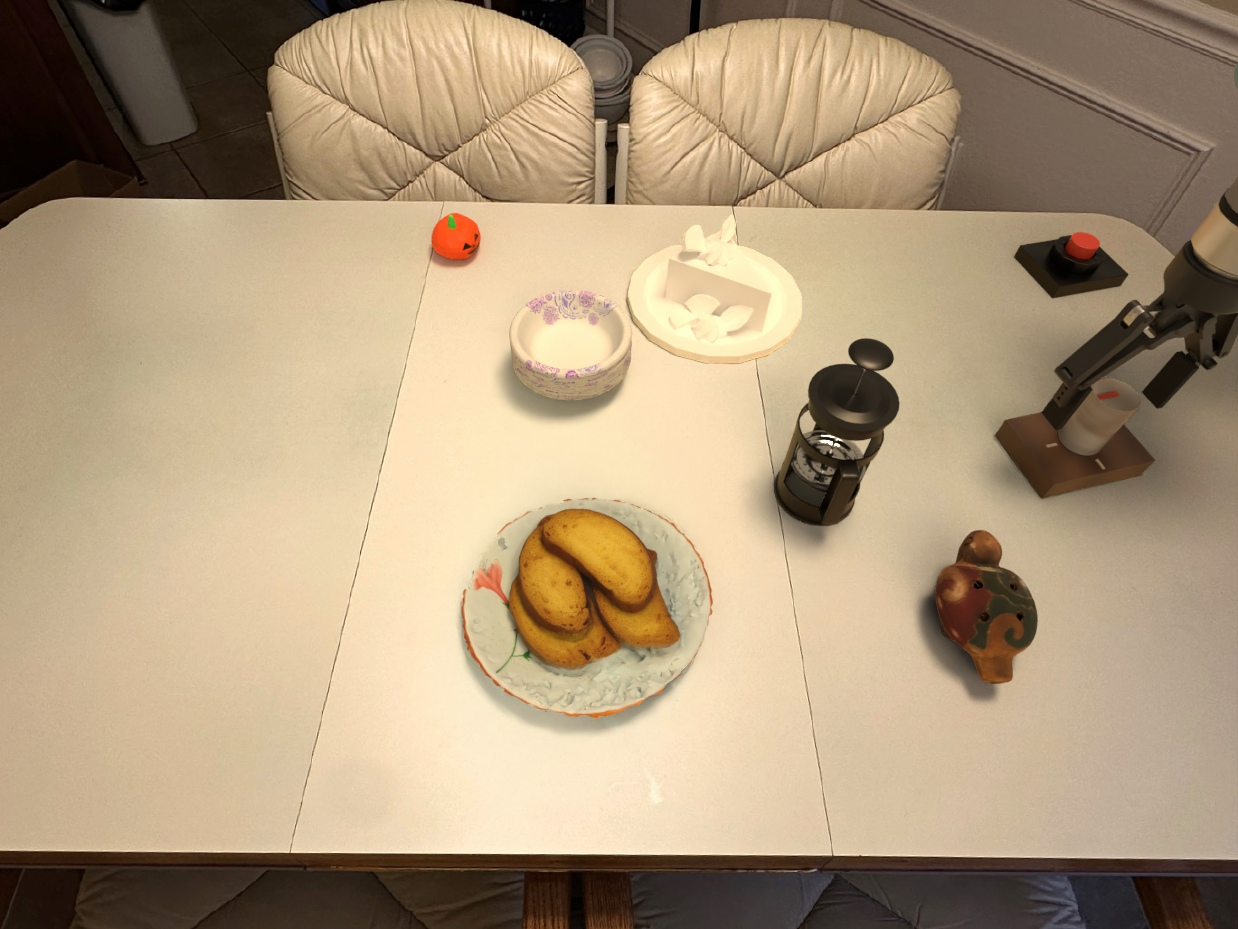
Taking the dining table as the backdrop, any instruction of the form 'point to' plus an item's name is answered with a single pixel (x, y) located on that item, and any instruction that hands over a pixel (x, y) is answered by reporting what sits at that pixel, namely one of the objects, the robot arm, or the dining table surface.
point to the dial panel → (1069, 457)
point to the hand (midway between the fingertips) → (1102, 410)
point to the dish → (714, 299)
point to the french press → (839, 433)
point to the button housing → (1068, 268)
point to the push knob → (1082, 245)
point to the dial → (1099, 416)
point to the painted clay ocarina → (986, 607)
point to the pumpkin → (455, 236)
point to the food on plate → (587, 607)
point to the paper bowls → (571, 344)
